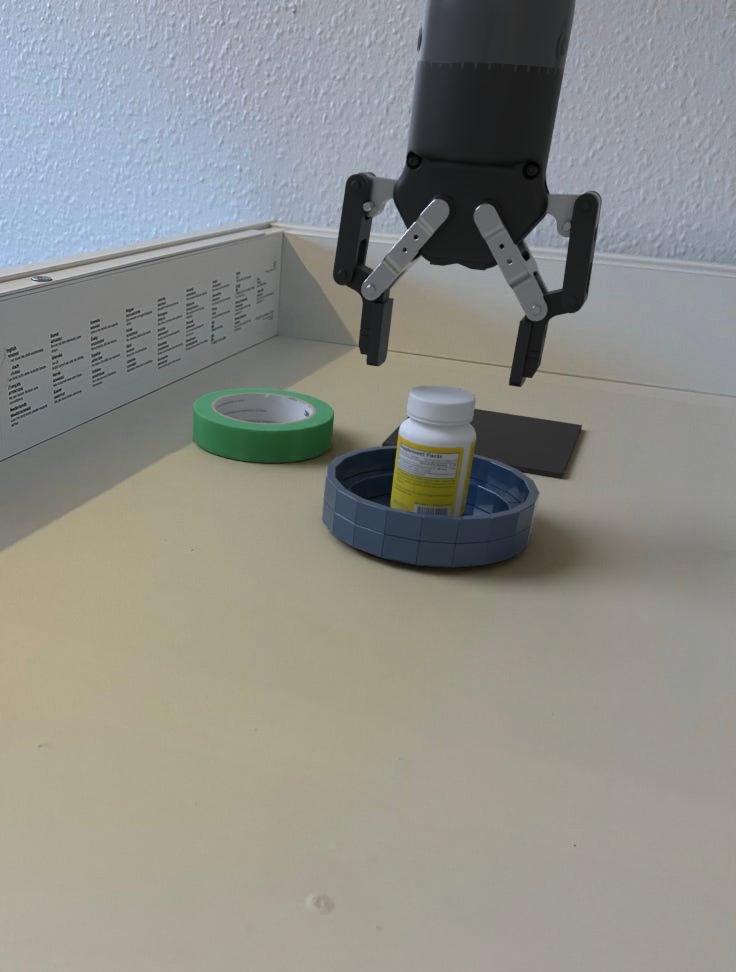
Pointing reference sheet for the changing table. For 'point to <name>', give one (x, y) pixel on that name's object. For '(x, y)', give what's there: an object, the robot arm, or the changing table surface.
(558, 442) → the mat
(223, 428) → the tape roll
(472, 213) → the robot arm
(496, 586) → the changing table surface
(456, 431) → the supplement bottle
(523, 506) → the dish
